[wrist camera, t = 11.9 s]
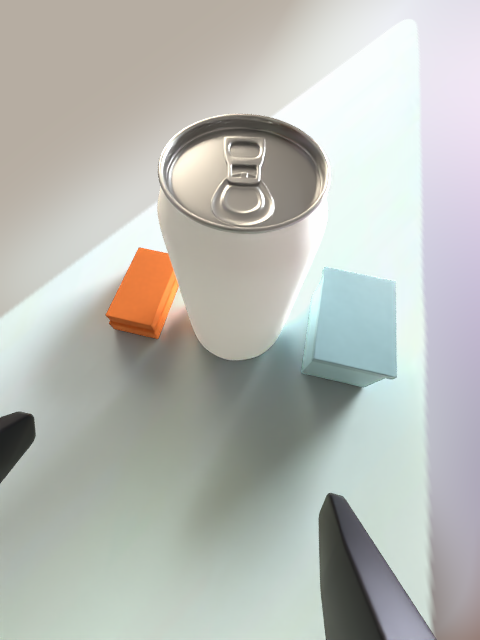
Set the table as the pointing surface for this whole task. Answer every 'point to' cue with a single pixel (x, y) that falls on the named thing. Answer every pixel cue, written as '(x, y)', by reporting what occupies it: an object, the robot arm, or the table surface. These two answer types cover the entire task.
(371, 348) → the box
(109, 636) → the table surface
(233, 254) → the can
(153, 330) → the orange rectangular block
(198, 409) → the table surface
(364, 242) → the table surface
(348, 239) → the table surface
